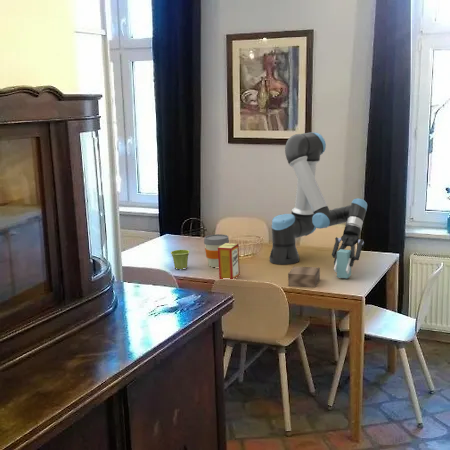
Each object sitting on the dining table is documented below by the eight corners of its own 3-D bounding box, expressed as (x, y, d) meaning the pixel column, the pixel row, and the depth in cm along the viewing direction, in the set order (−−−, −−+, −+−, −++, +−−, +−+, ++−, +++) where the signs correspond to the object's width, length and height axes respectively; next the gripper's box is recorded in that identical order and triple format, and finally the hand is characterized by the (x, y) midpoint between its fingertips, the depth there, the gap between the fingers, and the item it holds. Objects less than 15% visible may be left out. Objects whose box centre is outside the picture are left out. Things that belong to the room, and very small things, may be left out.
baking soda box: (232, 280, 297) (230, 247, 293) (219, 279, 299) (217, 246, 296) (239, 275, 305) (238, 242, 302) (227, 274, 308) (225, 242, 304)
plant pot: (193, 266, 324) (192, 249, 323) (186, 271, 316) (185, 254, 314) (176, 265, 328) (175, 249, 326) (168, 270, 319) (167, 253, 317)
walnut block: (288, 286, 285) (288, 273, 284) (294, 278, 296) (293, 266, 295) (315, 288, 281) (314, 275, 280) (319, 280, 292) (319, 267, 291)
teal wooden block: (336, 277, 291) (336, 251, 289) (340, 274, 296) (340, 249, 293) (347, 278, 289) (347, 252, 286) (351, 275, 293) (350, 250, 291)
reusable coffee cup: (201, 268, 320) (200, 239, 317) (210, 261, 331) (209, 233, 328) (225, 269, 316) (223, 240, 313) (233, 263, 327) (232, 234, 324)
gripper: (373, 234, 297) (362, 277, 287) (336, 231, 306) (324, 273, 296) (370, 225, 292) (358, 269, 281) (332, 222, 301) (320, 265, 290)
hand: (341, 271), depth 289 cm, fingers closed on teal wooden block, 5 cm apart
